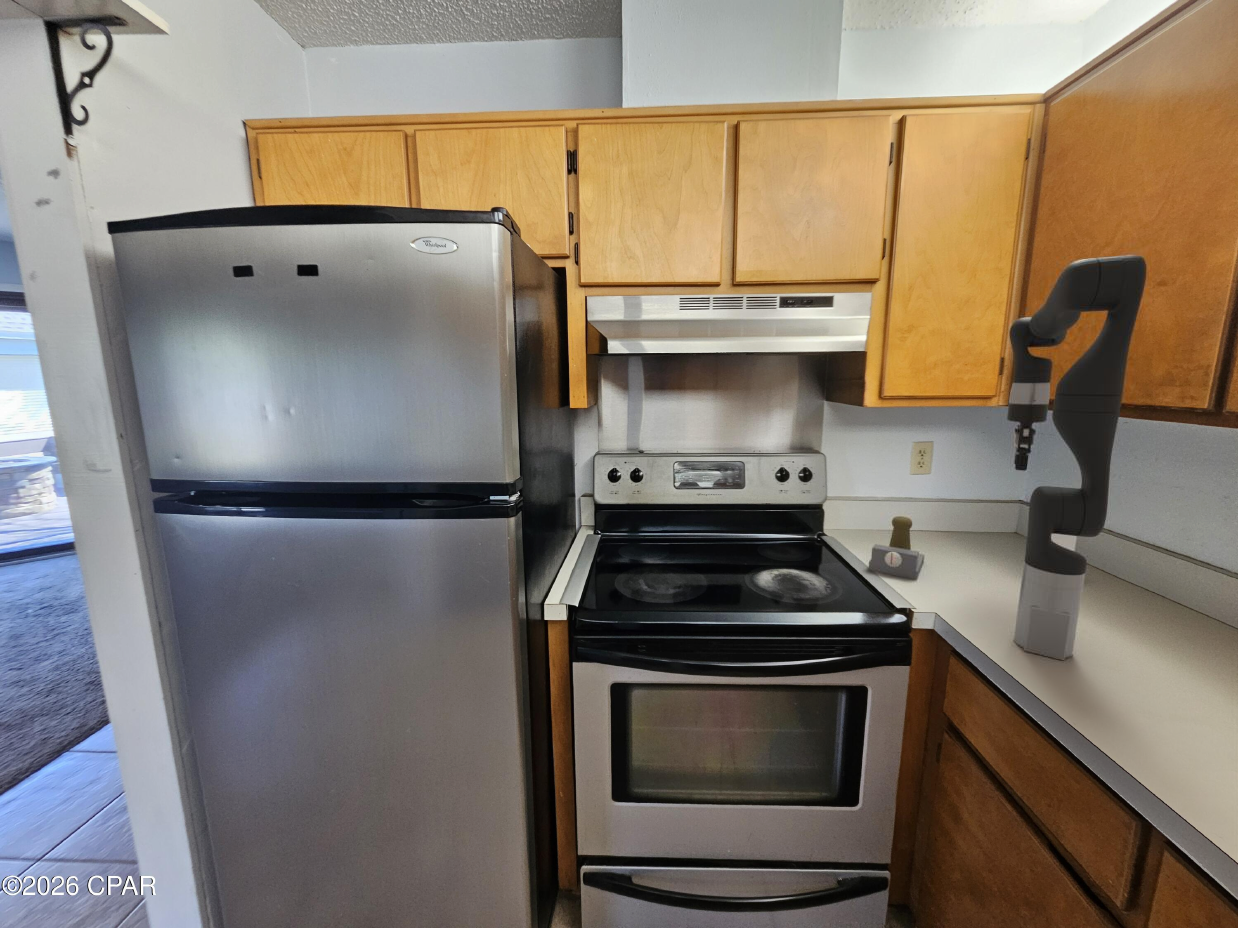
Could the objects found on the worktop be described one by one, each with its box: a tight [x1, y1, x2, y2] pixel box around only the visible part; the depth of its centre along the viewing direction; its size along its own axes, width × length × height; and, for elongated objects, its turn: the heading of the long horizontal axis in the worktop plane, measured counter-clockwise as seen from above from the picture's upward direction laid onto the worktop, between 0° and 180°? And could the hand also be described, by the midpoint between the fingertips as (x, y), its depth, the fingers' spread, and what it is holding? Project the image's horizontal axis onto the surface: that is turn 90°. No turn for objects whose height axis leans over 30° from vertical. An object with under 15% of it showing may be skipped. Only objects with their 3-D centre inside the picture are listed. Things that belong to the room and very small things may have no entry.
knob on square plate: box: [868, 543, 925, 581], centre depth 145 cm, size 16×12×7 cm
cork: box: [888, 515, 913, 550], centre depth 146 cm, size 6×6×11 cm
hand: (1020, 467), depth 124 cm, fingers open, 8 cm apart
